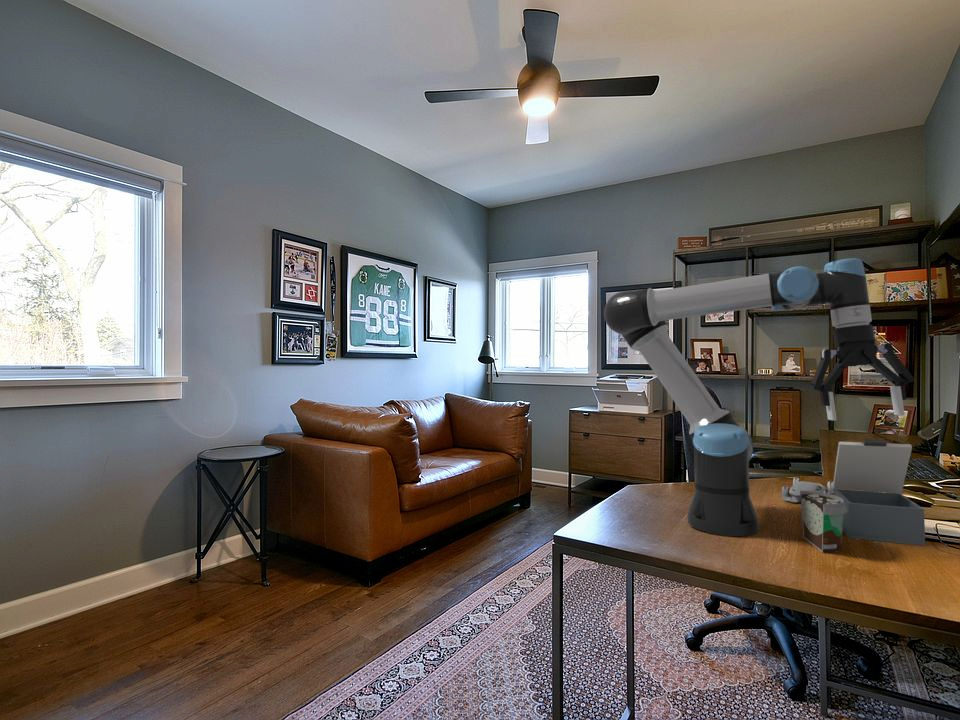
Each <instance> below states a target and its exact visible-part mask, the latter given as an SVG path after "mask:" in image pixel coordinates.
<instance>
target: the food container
mask: <svg viewBox="0 0 960 720" xmlns="http://www.w3.org/2000/svg"><path fill="white" fill-rule="evenodd" d="M800 500H801V503H800V508H801V522H802V537H803V539H804V540H806V541H807V542H808V543H810V544H811V545H812V546H814V547H815V548H816V549H817V550H819V552H821V553H822V554H831V553H832V554H833V553H837V552H841V550H842V541H843V514H845V513H847V507H846V504H845V502H844V500H843V499H842V498H840V497H838V496H835V495H834V494H826V493H821V492H813V491H800Z"/></svg>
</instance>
